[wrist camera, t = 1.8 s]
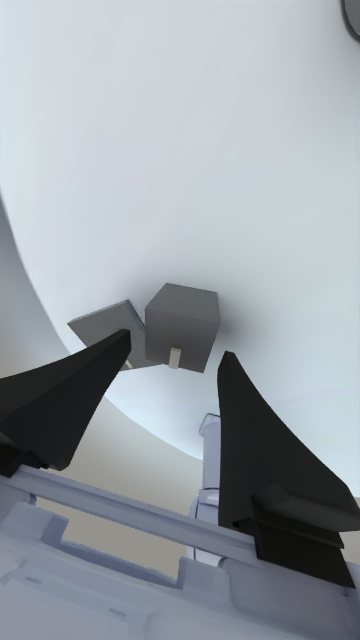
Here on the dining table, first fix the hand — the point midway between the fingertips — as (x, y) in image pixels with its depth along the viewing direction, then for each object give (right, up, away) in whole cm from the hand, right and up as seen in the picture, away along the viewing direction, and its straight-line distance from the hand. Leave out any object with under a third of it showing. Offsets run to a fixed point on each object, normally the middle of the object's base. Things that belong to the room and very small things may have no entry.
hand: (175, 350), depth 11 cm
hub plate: (-8, -1, +10) cm, 13 cm away
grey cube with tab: (+1, +3, +6) cm, 7 cm away
